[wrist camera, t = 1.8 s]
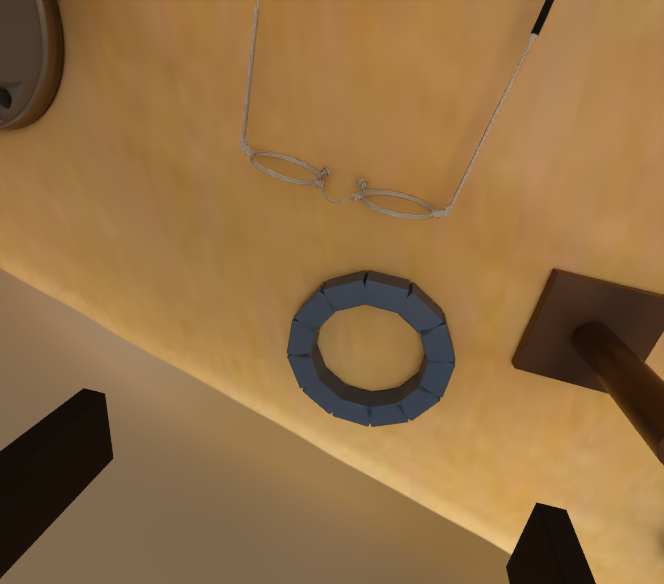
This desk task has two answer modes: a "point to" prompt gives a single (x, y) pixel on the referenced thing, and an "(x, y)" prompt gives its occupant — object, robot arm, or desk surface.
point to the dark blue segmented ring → (356, 401)
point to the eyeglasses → (362, 182)
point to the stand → (600, 345)
